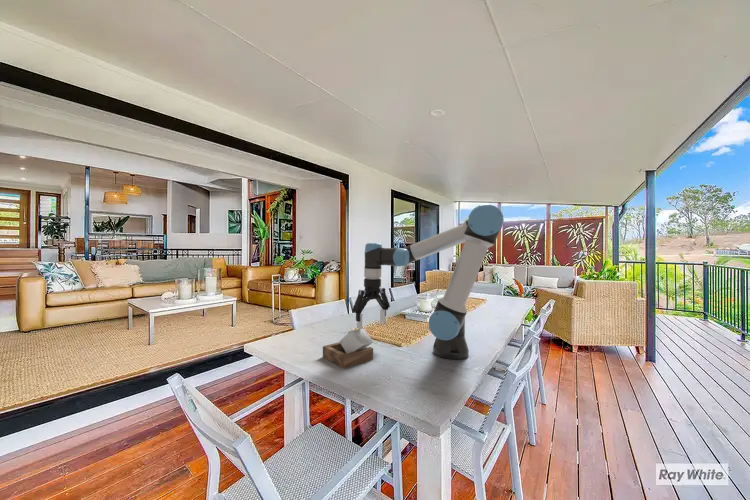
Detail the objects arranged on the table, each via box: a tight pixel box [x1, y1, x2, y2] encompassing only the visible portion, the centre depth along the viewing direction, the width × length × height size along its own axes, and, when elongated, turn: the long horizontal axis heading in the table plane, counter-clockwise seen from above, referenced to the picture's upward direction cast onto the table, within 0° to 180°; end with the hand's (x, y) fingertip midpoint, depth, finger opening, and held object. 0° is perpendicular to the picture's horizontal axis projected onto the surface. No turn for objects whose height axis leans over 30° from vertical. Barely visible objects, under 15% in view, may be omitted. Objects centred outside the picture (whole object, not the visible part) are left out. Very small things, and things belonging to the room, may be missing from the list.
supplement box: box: [338, 328, 374, 354], centre depth 121 cm, size 7×7×13 cm
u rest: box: [322, 341, 374, 370], centre depth 119 cm, size 15×14×4 cm
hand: (371, 326), depth 128 cm, fingers open, 13 cm apart
